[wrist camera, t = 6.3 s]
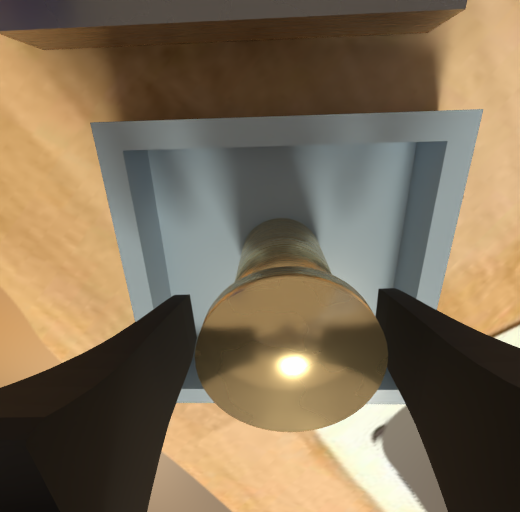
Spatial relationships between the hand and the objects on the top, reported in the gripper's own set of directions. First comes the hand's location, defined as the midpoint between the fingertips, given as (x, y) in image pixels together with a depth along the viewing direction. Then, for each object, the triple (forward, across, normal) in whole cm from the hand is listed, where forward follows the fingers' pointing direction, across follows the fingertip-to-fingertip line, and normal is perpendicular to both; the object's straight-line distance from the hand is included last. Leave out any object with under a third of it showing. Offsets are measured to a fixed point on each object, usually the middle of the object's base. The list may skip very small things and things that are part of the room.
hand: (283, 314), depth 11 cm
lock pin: (+4, 0, -1) cm, 4 cm away
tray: (+5, 0, 0) cm, 5 cm away
